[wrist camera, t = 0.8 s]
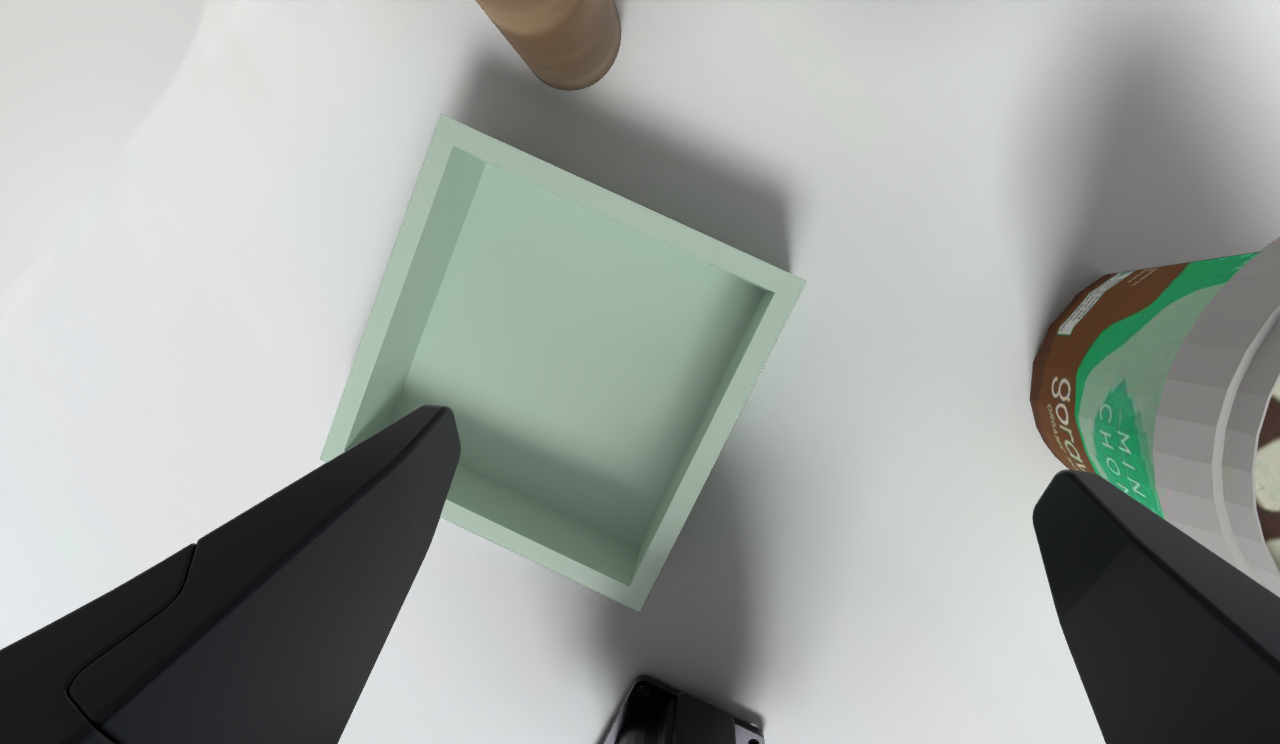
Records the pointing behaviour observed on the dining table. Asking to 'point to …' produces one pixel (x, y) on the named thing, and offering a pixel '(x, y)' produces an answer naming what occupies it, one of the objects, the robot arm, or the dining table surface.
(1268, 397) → the food container
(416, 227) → the box
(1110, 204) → the dining table surface
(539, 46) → the walnut handle
